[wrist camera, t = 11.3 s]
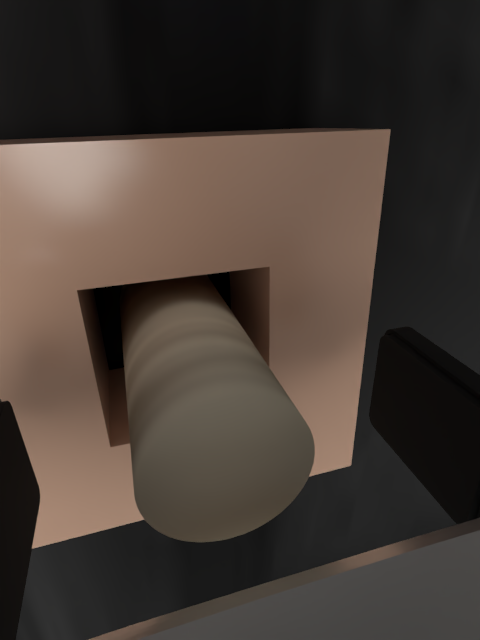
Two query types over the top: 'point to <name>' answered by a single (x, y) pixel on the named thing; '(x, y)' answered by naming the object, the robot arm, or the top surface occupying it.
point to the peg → (205, 415)
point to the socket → (175, 262)
